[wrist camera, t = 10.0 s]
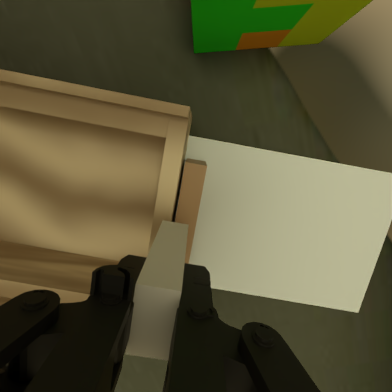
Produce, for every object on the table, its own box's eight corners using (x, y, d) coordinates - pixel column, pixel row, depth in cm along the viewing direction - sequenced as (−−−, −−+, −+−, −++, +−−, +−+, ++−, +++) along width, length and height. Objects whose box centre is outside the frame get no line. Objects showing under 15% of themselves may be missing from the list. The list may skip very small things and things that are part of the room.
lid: (189, 135, 22) (186, 134, 18) (400, 175, 23) (452, 183, 18) (165, 275, 25) (157, 306, 21) (353, 307, 26) (387, 344, 21)
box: (-78, 64, 21) (-212, 27, 14) (192, 117, 22) (189, 106, 15) (-71, 244, 24) (-176, 285, 17) (162, 284, 25) (149, 339, 18)
